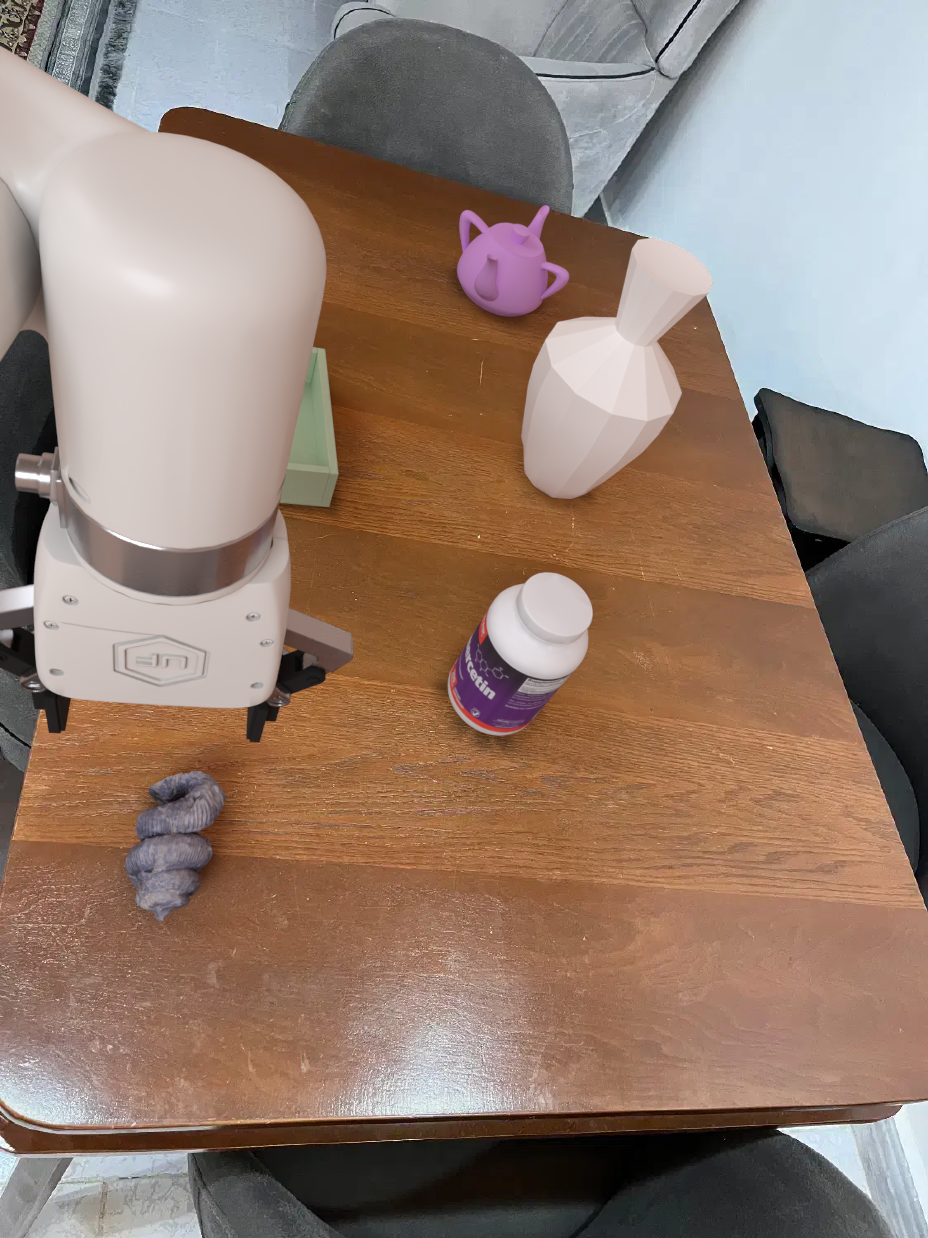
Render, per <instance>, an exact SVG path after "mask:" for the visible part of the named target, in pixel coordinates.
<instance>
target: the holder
mask: <svg viewBox="0 0 928 1238" xmlns="http://www.w3.org/2000/svg"><path fill="white" fill-rule="evenodd" d="M334 427H335V426H334V418H333V410H332V399H331V389H330V380H329V371H328V363H327V352H326V348H321V347H316V346H313V349H312V353H311V358H310V363H309V368H308V372H307V377H306V382H305V386H304V391H303V396H302V401H301V405H300V410H299V415H298V419H297V424H296V429H295V433H294V438H293V442H292V447H291V451H290V456H289V461H288V466H287V471H286V476H285V481H284V485H283V490H282V495H281V499H280V504H286V505H287V504H288V505H299V506H310V507H311V506H312V507H322V508H330V507H331V501H332V498H333V495H334V492H335V488H336V484H337V481H338V478H339V473H340V472H339V465H338V456H337V446H336V437H335V428H334Z"/></svg>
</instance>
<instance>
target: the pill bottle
mask: <svg viewBox="0 0 928 1238" xmlns="http://www.w3.org/2000/svg"><path fill="white" fill-rule="evenodd" d="M593 613H594V612H593V605H592V603H591V600H590V597H589V596H588V594H587V593H586V592H585V590H584V589H583V588H582V587H581V586H580V585H579V584H578V583H577V582H575V580H573V579H572V578H571V579H570V578H569V577H567V576H565V575H562V574H560V573H557V572H551V571H550V572H545V571H544V572H539V573H535V574H534V575H532V576H531V577H529V578H528V579H527V580H526V581H525V582H524V583H520V584H515V585H512V586H510V587H507V588H505V589H503V590H502V591H501V592H500V593H499V594H498V595H497V596H496V597H495V598H494V599H493V600H492V603H491V604H490V605H489V607H488V609H487V610H486V612H485V613H484V615H483V617H482V618H481V620H480V622H479V623H478V625H477V627H476V628H475V629H474V631H473V632H472V634H471V636H470V638H469V639H468V641H467V643H466V644H465V646H464V647H463V649H462V650H461V652H460V653H459V655H458V657H457V659H456V660H455V661H454V663H453V665H452V666H451V669H450V671H449V675H448V679H447V693H448V697H449V700H450V703H451V705H452V708H453V709H454V711H455V712H456V713H457V715H458V716H459V717H460V718H461V720H462V721H463V722H465V724H467V725H468V726H470V727H471V728H473V729H474V730H476V731H477V732H480V733H484V734H486V735H491V736H498V737H499V736H509V735H512V734H515V733H518V732H520V731H522V730H523V729H525V728H526V727H528V726H529V724H531V722H532V721H533V720H534V719H535V718H536V716H538V714H539V713H540V711H542V709H543V708H544V707H545V706H546V705H547V703H548V702H549V701H550V700H551V699H552V698H553V696H555V694H556V693H557V692H558V690H559V689H560V688H561V687H562V686H563V684H565V682H566V681H567V680H568V679H569V678H570V677H571V675H572V674H573V673H574V672H575V671H576V669H577V668H579V666H580V665H581V664H582V662H583V660H584V658H585V657H586V655H587V651H588V648H589V630H588V629H589V627H590V625H591V624H592V620H593V616H594V615H593Z"/></svg>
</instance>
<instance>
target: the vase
mask: <svg viewBox="0 0 928 1238" xmlns="http://www.w3.org/2000/svg"><path fill="white" fill-rule="evenodd" d="M627 264H628V265H627V269H626V273H625V278H624V281H623V286H622V291H621V295H620V300H619V304H618V307H617V308H618V309H617V314H616V316H614V317H613V316H607V317H606V316H580V317H575V318H571V319H565V320H561V321H557V322H556V324H555V325H554V326H553V328H552V329H551V331H550V332H549V334H548V335H547V337H546V338H545V339H544V341H543V344H542V346H541V348H540V350H539V352H538V354H537V356H536V358H535V361H534V363H533V365H532V369H531V373H530V376H529V380H528V383H527V388H526V389H527V390H526V397H525V404H524V411H523V419H522V424H521V425H522V427H521V435H520V437H521V443H522V448H523V468H524V469H523V471H524V474H525V476H526V477H527V478H528V480H529V481H530V483H531V485H532V486H533V487H535V488H536V489H537V490H539V491H541V492H542V493H544V494H545V495H547V496H548V497H550V498H552V499H561V500H573V499H576V498H579V497H581V496H585V495H586V494H588V493H589V492H591V491H592V490H593V489H595V488H596V487H598V486H600V485H602V484H603V483H605V482H606V481H607V480H609V479H610V478H612V477H613V476H614V475H615V474H617V473H618V472H620V471H621V470H622V469H623V468H624V467H626V466H627V465H628V464H630V463H631V462H633V461H634V460H636V458H637V457H639V456H640V455H642V454H643V452H645V451H646V449H647V448H648V447H649V446H650V445H651V444H652V443H653V442H654V440H655V439H656V438H657V437H659V435H660V433H661V432H662V430H663V429H664V427H665V426H666V424H667V423H668V422H669V420H670V419H671V417H672V416H673V414H674V413H675V410H676V408H677V405H678V403H679V401H680V399H681V397H682V394H683V391H682V389H681V386H680V383H679V380H678V377H677V374H676V371H675V368H674V366H673V365H672V363H671V362H670V360H669V358H668V356H667V354H666V353H665V352H664V350H663V349H662V347H661V345H660V344H659V342H658V340H659V339H660V338H662V337H663V336H664V335H665V334H666V333H667V332H668V331H669V330H670V329H671V328H672V327H674V326H675V325H676V324H677V323H678V322H679V321H680V320H682V318H684V317H685V315H687V314H688V313H689V312H690V311H691V310H692V309H693V308H694V307H695V306H696V305H698V304H699V303H700V302H701V301H702V300H703V299H704V298H705V297H706V296H707V295H708V294H709V293H710V291H711V289H712V287H713V285H714V281H713V278H712V276H711V274H710V271H709V269H708V267H706V266H705V265H704V264H703V263H702V261H700V260H699V259H698V258H697V257H696V256H695V255H694V254H693V253H691V252H689V251H688V250H686V249H684V248H683V247H680V245H677V244H675V243H674V242H670V241H667V240H663V239H659V238H655V237H648V238H641V239H637V240H636V242H635V244H634V245H633V246H632V248H631V252H630V256H629V261H628V263H627Z"/></svg>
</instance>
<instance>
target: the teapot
mask: <svg viewBox="0 0 928 1238" xmlns="http://www.w3.org/2000/svg"><path fill="white" fill-rule="evenodd" d="M549 213H550V206H549V205H547V204H544V205H542V207H540V209H538V212H537V213H536V214H535V217H534V218H533V219H532V221H531V222H530V223H529V225H528V226H526V225H523V224H521V223H512V222H499V223H495V224H494V225H492V226H490V227H489V226H488V225H487V224H486V222H484V220H483V219H482V218H481V217H480V216H479V215H478V214H476V213H475V212H474V211H472V210H470V209H465V210H463V211H462V213H461V214H460V217H459V222H458V223H459V224H458V227H459V230H458V231H459V239H460V245H461V250H462V254H461V256H460V258H459V260H458V262H457V265H456V274H457V279H458V281H459V284H460V286H461V288H462V290H463V292H464V294H465V295H466V297H467V298H468V299H469V300H470V301H472V302H473V303H474V304H475V305H476V306H478V307H479V308H481V309H482V310H484V311H487V312H488V313H490V314H494V315H497V316H500V317H506V318H517V317H521V316H524V315H527V314H530V313H532V312H534V311H535V310H537V309H538V308H539V307H540V306H541V305H542V303H543V300H545V299H547V298H549V297H551V296H552V295H555V294H556V293H558V292H559V291H561V290H562V289H563V288H564V287H565V286H566V285H567V284H568V282H569V280H570V273H569V272H568V270H567V269H566V268H565V267H562V266H560V265H558V264H555V263H552V262H550V261H547V256H546V251H545V248H544V245H543V243H542V241H541V240H540V239H541V235H542V230H543V227H544V224H545V221H546V218H547V217H548V215H549ZM471 224H473V225H474V226H475V227H476V228H477V229H478V230H479V231H480V234H479V235H477V236H476V237H475V238H474V239H473V240H472V241H470V227H471ZM548 272H549V273H552V274H554V275H555V280H554V281H553V282H552V284H551V285H550V286H548V280H549V273H548Z"/></svg>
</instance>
